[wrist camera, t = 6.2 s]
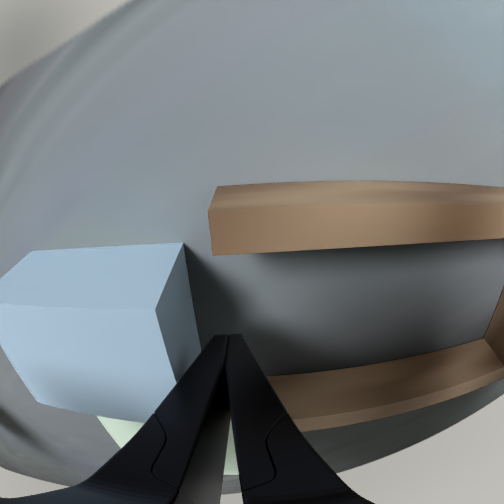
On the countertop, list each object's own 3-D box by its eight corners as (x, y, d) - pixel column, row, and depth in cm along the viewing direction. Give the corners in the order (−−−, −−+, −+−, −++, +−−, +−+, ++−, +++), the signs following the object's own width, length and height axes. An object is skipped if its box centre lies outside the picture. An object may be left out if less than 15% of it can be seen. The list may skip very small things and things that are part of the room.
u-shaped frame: (538, 191, 8) (573, 209, 6) (488, 348, 12) (508, 375, 10) (217, 186, 8) (208, 212, 6) (241, 392, 12) (240, 435, 10)
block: (184, 240, 9) (154, 309, 6) (202, 349, 11) (191, 426, 8) (34, 249, 9) (-22, 300, 6) (70, 342, 11) (37, 402, 8)
